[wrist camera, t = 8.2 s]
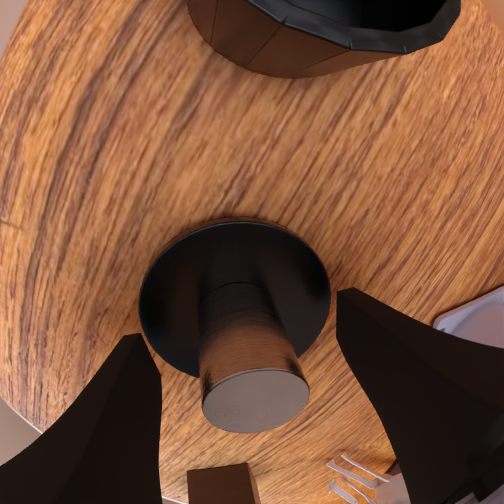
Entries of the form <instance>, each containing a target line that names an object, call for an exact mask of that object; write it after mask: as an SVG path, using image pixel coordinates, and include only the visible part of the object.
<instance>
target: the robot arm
mask: <svg viewBox="0 0 504 504" xmlns="http://www.w3.org/2000/svg"><path fill="white" fill-rule="evenodd" d="M336 339H337V341H338V343H339V346H340V348H341V350H342V353H343V355H344V357H345V359H346V362H347V363H348V365H349V367H350V368H351V370H352V372H353V373H354V375H355V377H356V378H357V380H358V382H359V383H360V385H361V387H362V388H363V390H364V392H365V393H366V395H367V397H368V398H369V400H370V402H371V403H372V405H373V407H374V408H375V410H376V412H377V414H378V416H379V418H380V419H381V422H382V424H383V426H384V429H385V431H386V433H387V436H388V438H389V440H390V443H391V445H392V448H393V450H394V453H395V456H396V458H397V461H398V464H399V467H400V470H401V473H402V476H403V479H404V482H405V485H406V488H407V492H408V495H409V499H410V503H411V504H504V285H503V286H501V287H500V288H498V289H496V290H494V291H492V292H490V293H488V294H486V295H484V296H481V297H479V298H477V299H475V300H473V301H471V302H469V303H467V304H464V305H462V306H460V307H458V308H455V309H453V310H451V311H449V312H446V313H444V314H442V315H440V316H438V317H437V318H436V320H435V321H434V324H433V327H430V326H428V325H426V324H424V323H422V322H420V321H417V320H415V319H413V318H411V317H409V316H407V315H405V314H403V313H401V312H399V311H397V310H395V309H393V308H392V307H390V306H388V305H386V304H384V303H382V302H380V301H379V300H377V299H375V298H373V297H371V296H370V295H368V294H366V293H364V292H362V291H360V290H358V289H356V288H354V287H351V288H348V289H344V290H340V291H337V316H336ZM161 412H162V384H161V374H160V372H159V370H158V368H157V366H156V364H155V362H154V360H153V358H152V356H151V354H150V352H149V350H148V348H147V345H146V343H145V341H144V339H143V337H142V335H141V333H136V334H130V335H124V336H123V337H122V339H121V340H120V341H119V342H118V344H117V345H116V346H115V348H114V349H113V350H112V352H111V353H110V355H109V356H108V357H107V359H106V360H105V362H104V363H103V364H102V366H101V367H100V368H99V370H98V371H97V372H96V374H95V375H94V377H93V378H92V379H91V381H90V382H89V383H88V384H87V386H86V387H85V388H84V389H83V391H82V392H81V393H80V394H79V396H78V397H77V398H76V400H75V401H74V402H73V403H72V404H71V406H70V407H69V408H68V409H67V410H66V411H65V412H64V413H63V414H62V415H61V416H60V418H59V419H58V420H57V421H56V422H55V423H54V424H53V425H52V426H51V427H50V428H48V429H47V430H46V431H45V432H44V433H43V434H42V435H41V436H40V437H39V438H38V439H36V440H35V441H34V442H33V443H32V444H31V445H29V446H28V447H27V448H26V449H24V450H23V451H22V452H20V453H19V454H18V455H16V456H15V457H13V458H12V459H11V460H9V461H8V462H6V463H5V464H3V465H1V466H0V504H162V496H161V488H160V478H159V441H160V426H161Z"/></svg>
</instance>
